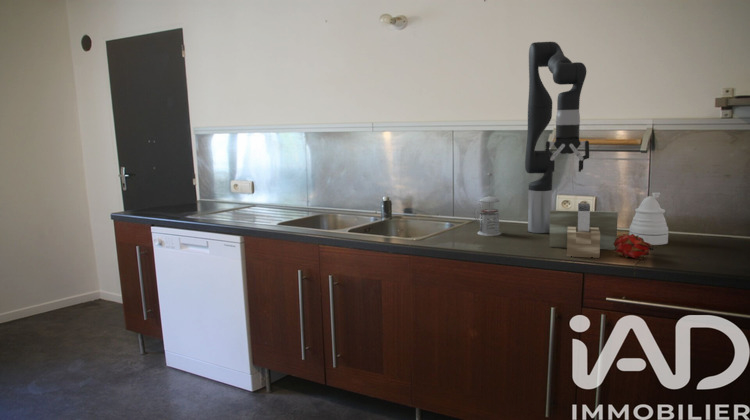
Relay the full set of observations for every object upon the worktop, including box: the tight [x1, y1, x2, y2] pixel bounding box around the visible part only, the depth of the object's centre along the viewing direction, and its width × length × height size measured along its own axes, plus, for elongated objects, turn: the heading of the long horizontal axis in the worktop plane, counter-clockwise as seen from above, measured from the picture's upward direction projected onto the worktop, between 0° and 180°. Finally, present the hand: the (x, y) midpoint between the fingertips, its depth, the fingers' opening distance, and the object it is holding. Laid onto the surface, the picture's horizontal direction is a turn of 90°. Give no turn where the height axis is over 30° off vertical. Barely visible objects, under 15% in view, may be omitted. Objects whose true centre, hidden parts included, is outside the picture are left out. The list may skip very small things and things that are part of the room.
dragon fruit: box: [613, 233, 654, 260], centre depth 175 cm, size 8×8×12 cm
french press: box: [473, 172, 502, 237], centre depth 221 cm, size 10×12×25 cm
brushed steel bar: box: [577, 202, 591, 232], centre depth 182 cm, size 7×4×12 cm, turn 160°
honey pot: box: [628, 192, 669, 246], centre depth 199 cm, size 13×13×18 cm
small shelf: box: [548, 210, 619, 259], centre depth 184 cm, size 16×22×13 cm
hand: (566, 171), depth 186 cm, fingers open, 8 cm apart
